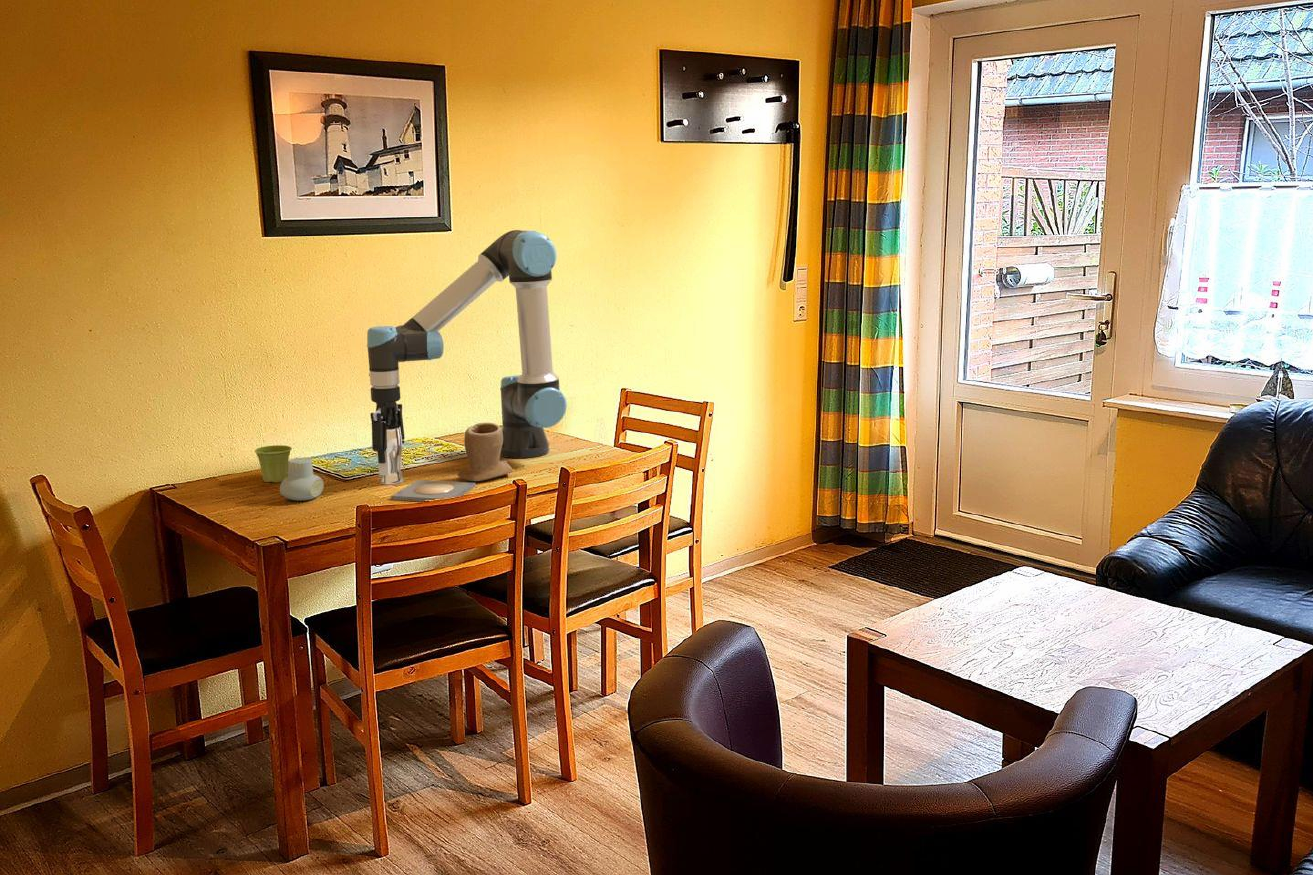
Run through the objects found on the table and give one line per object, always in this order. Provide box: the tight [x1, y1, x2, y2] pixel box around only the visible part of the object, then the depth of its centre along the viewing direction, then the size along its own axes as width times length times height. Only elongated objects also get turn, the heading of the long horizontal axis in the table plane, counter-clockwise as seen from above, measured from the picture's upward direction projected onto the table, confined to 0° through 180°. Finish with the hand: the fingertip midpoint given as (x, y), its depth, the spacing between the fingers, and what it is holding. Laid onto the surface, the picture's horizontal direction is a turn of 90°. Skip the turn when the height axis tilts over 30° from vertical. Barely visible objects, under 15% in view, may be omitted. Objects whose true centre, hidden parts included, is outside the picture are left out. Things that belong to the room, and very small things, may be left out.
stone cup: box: [457, 422, 514, 482], centre depth 302 cm, size 15×12×15 cm
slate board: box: [390, 479, 476, 502], centre depth 289 cm, size 16×16×1 cm
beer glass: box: [375, 425, 404, 486], centre depth 299 cm, size 7×7×15 cm
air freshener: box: [279, 457, 325, 502], centre depth 285 cm, size 11×8×10 cm
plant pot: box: [254, 444, 293, 483], centre depth 303 cm, size 9×9×9 cm
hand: (390, 471), depth 300 cm, fingers closed on beer glass, 6 cm apart
